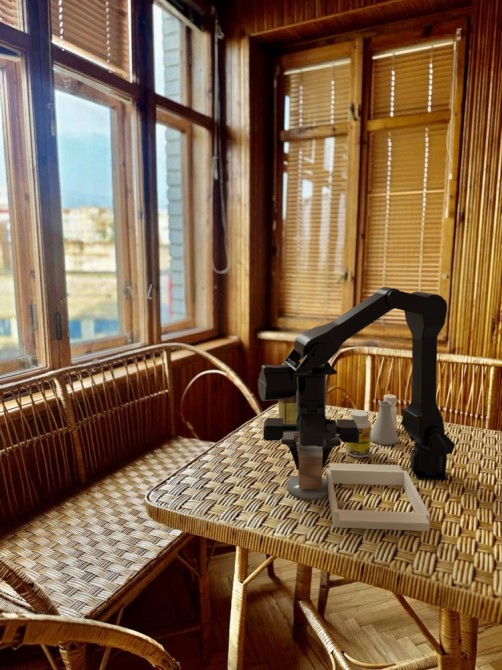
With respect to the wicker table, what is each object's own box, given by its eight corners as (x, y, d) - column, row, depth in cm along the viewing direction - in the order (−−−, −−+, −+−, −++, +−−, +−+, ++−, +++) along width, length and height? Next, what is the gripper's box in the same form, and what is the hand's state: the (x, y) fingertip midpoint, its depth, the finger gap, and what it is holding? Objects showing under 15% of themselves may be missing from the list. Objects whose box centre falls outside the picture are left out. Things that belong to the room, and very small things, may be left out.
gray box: (319, 473, 100) (320, 438, 99) (321, 489, 94) (322, 451, 93) (298, 473, 101) (298, 437, 99) (298, 488, 94) (299, 451, 93)
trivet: (329, 478, 102) (329, 475, 102) (333, 501, 93) (333, 497, 93) (286, 477, 102) (287, 473, 102) (287, 499, 94) (287, 495, 94)
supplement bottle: (347, 458, 111) (349, 417, 109) (344, 448, 117) (345, 408, 115) (371, 458, 111) (373, 417, 109) (367, 448, 117) (369, 409, 115)
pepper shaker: (395, 433, 126) (397, 399, 124) (379, 431, 127) (381, 397, 125) (396, 427, 130) (398, 394, 128) (380, 426, 131) (382, 393, 129)
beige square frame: (402, 478, 102) (403, 465, 101) (433, 539, 81) (434, 523, 80) (324, 475, 103) (325, 462, 103) (334, 535, 82) (335, 519, 82)
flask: (380, 448, 117) (382, 409, 115) (363, 437, 124) (365, 400, 122) (404, 443, 120) (406, 405, 118) (386, 432, 126) (388, 397, 124)
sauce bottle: (307, 436, 124) (308, 362, 120) (296, 445, 119) (297, 368, 115) (285, 431, 127) (286, 359, 124) (273, 439, 122) (274, 364, 118)
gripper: (262, 409, 87) (262, 487, 90) (365, 411, 85) (362, 491, 88) (264, 390, 98) (264, 461, 101) (356, 392, 96) (353, 463, 99)
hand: (309, 469), depth 97 cm, fingers closed on gray box, 4 cm apart
